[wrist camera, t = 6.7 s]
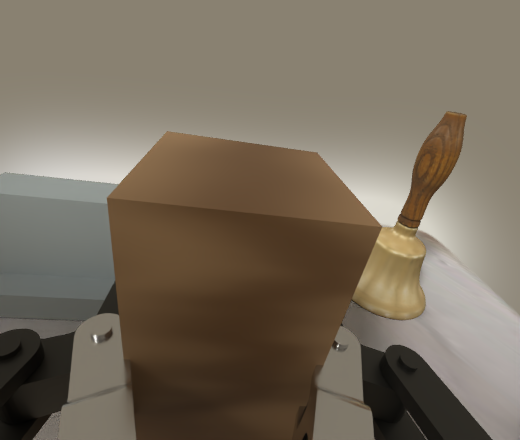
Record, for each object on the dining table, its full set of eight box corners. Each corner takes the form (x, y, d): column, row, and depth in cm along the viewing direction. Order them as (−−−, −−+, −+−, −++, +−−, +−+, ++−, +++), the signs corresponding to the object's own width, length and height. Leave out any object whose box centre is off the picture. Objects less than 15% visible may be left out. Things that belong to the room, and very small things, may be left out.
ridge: (-16, 316, 18) (-64, 206, 15) (46, 252, 25) (24, 162, 21) (232, 326, 21) (247, 233, 17) (233, 265, 27) (243, 187, 23)
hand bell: (431, 335, 23) (559, 135, 15) (329, 298, 25) (399, 104, 17) (419, 276, 30) (503, 118, 22) (340, 251, 32) (393, 98, 24)
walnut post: (138, 504, 11) (106, 197, 5) (165, 377, 15) (167, 131, 9) (266, 498, 12) (381, 227, 6) (257, 379, 16) (316, 152, 10)
